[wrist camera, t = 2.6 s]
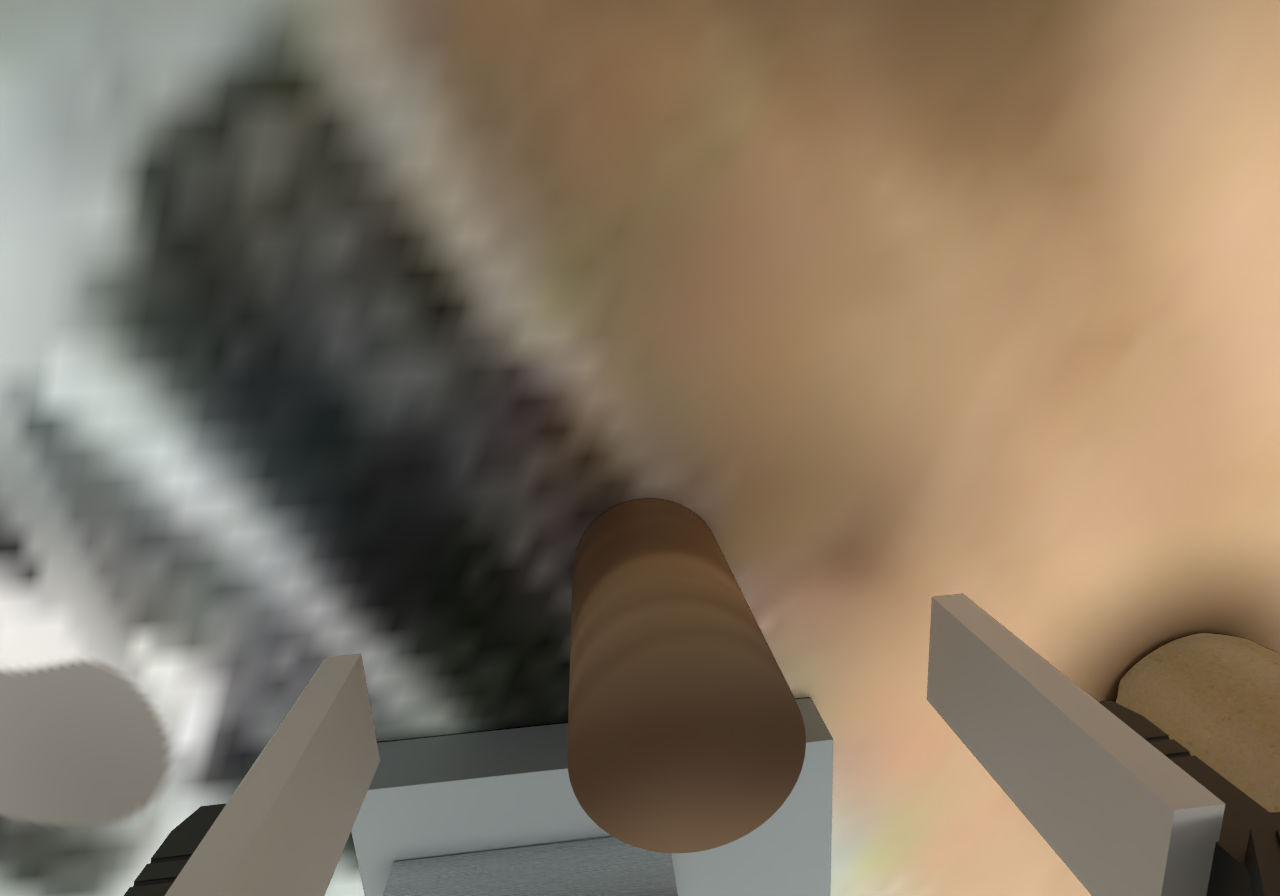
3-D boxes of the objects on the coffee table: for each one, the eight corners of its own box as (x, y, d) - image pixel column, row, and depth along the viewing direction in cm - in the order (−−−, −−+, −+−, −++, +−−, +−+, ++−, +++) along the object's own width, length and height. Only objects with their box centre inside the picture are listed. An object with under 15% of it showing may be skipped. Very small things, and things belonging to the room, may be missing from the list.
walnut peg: (566, 504, 19) (556, 660, 12) (718, 492, 20) (806, 636, 12) (579, 641, 20) (577, 865, 13) (722, 627, 21) (805, 839, 13)
